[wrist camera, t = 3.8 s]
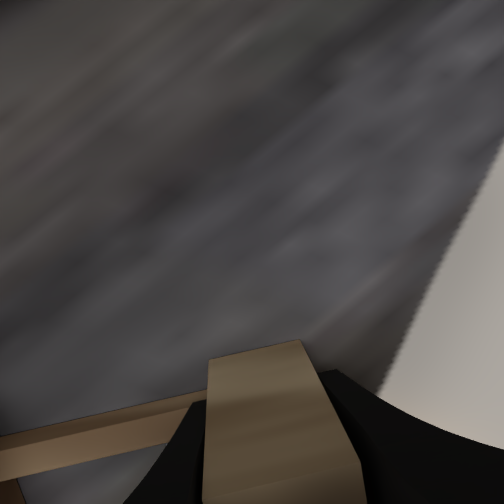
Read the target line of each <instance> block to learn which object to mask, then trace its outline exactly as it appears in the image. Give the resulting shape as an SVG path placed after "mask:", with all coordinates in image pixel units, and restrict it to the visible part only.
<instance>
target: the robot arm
mask: <svg viewBox="0 0 504 504" xmlns="http://www.w3.org/2000/svg"><path fill="white" fill-rule="evenodd" d="M317 375H318V377H319V379H320V381H321V383H322V385H323V387H324V389H325V392H326V394H327V396H328V398H329V400H330V402H331V404H332V406H333V408H334V410H335V412H336V414H337V416H338V418H339V420H340V422H341V424H342V426H343V428H344V430H345V432H346V434H347V436H348V438H349V440H350V442H351V444H352V446H353V448H354V450H355V452H356V454H357V456H358V458H359V460H360V463H361V469H362V475H363V481H364V487H365V493H366V499H367V504H504V450H503V449H500V448H496V447H493V446H489V445H486V444H482V443H479V442H476V441H473V440H470V439H467V438H465V437H461V436H459V435H456V434H453V433H450V432H448V431H445V430H443V429H440V428H438V427H436V426H433V425H431V424H429V423H426V422H424V421H422V420H420V419H418V418H415V417H413V416H411V415H409V414H407V413H405V412H404V411H402V410H400V409H398V408H396V407H394V406H392V405H391V404H389V403H387V402H385V401H384V400H382V399H380V398H379V397H377V396H375V395H374V394H372V393H371V392H369V391H368V390H366V389H365V388H363V387H362V386H360V385H359V384H357V383H356V382H354V381H353V380H351V379H350V378H348V377H347V376H346V375H344V374H343V373H341V372H340V371H338V370H337V369H335V370H330V371H326V372H322V373H317ZM206 407H207V399H205V400H200V401H196V402H193V403H192V404H191V406H190V407H189V409H188V411H187V412H186V414H185V416H184V418H183V419H182V421H181V423H180V424H179V426H178V428H177V430H176V431H175V433H174V434H173V436H172V438H171V439H170V441H169V442H168V444H167V446H166V447H165V449H164V450H163V452H162V453H161V455H160V456H159V458H158V459H157V461H156V462H155V463H154V465H153V466H152V468H151V469H150V471H149V472H148V473H147V475H146V476H145V477H144V479H143V480H142V481H141V482H140V484H139V485H138V486H137V487H136V489H135V490H134V491H133V492H132V493H131V494H130V496H129V497H128V498H127V499H126V500H125V501H124V503H123V504H203V502H202V489H203V468H204V448H205V427H206Z"/></svg>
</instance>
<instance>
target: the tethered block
mask: <svg viewBox="0 0 504 504" xmlns="http://www.w3.org/2000/svg"><path fill="white" fill-rule="evenodd" d="M205 399H207V407H206V427H205V448H204V468H203V489H202V502H203V504H367V499H366V493H365V487H364V481H363V475H362V469H361V463H360V460H359V458H358V456H357V454H356V452H355V450H354V448H353V446H352V444H351V442H350V440H349V438H348V436H347V434H346V432H345V430H344V428H343V426H342V424H341V422H340V420H339V418H338V416H337V414H336V412H335V410H334V408H333V406H332V404H331V402H330V400H329V398H328V396H327V394H326V392H325V389H324V387H323V385H322V383H321V381H320V379H319V377H318V375H317V373H316V371H315V369H314V367H313V365H312V363H311V361H310V359H309V357H308V355H307V353H306V351H305V349H304V347H303V345H302V343H301V341H300V339H299V340H294V341H290V342H285V343H281V344H276V345H272V346H268V347H263V348H259V349H254V350H250V351H246V352H241V353H237V354H232V355H228V356H224V357H219V358H215V359H210V360H209V366H208V386H207V389H206V390H202V391H198V392H193V393H189V394H185V395H180V396H176V397H172V398H167V399H163V400H159V401H154V402H150V403H146V404H141V405H137V406H132V407H128V408H124V409H119V410H115V411H111V412H106V413H102V414H98V415H93V416H89V417H85V418H80V419H76V420H72V421H67V422H63V423H59V424H54V425H50V426H45V427H41V428H37V429H32V430H28V431H24V432H19V433H15V434H11V435H6V436H2V437H0V504H26V503H25V501H24V498H23V495H22V493H21V490H20V488H19V485H18V483H17V480H16V478H18V477H23V476H27V475H31V474H35V473H40V472H44V471H48V470H52V469H57V468H61V467H65V466H69V465H74V464H78V463H82V462H86V461H91V460H95V459H99V458H103V457H108V456H112V455H116V454H120V453H125V452H129V451H133V450H137V449H142V448H146V447H150V446H154V445H159V444H163V443H167V442H169V441H170V439H171V438H172V436H173V434H174V433H175V431H176V430H177V428H178V426H179V424H180V423H181V421H182V419H183V418H184V416H185V414H186V412H187V411H188V409H189V407H190V406H191V404H192V403H193V402H196V401H200V400H205Z"/></svg>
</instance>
